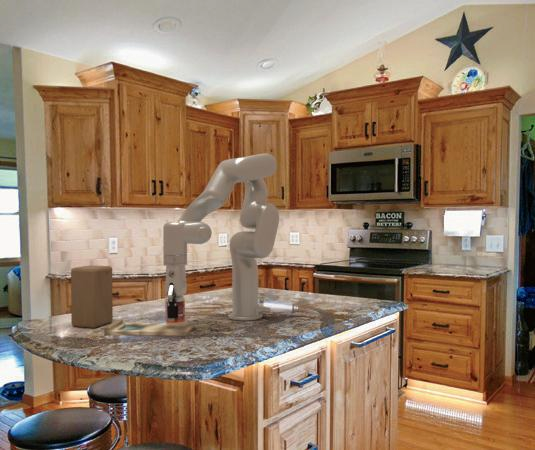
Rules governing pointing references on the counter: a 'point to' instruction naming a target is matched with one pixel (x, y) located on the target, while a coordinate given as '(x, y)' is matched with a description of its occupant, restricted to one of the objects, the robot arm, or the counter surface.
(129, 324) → the board
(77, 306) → the wooden block
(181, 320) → the pill bottle
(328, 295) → the counter surface
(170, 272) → the robot arm
